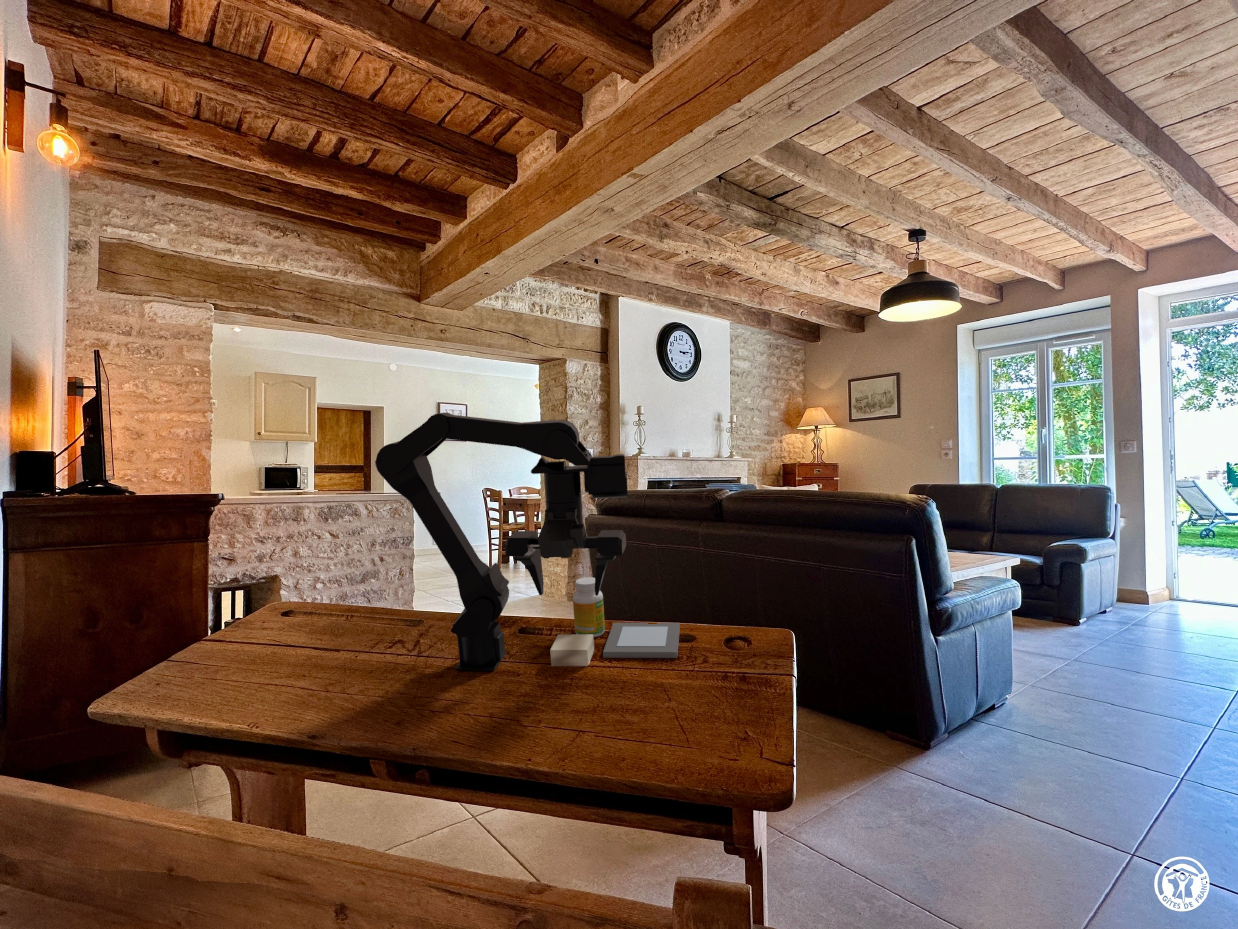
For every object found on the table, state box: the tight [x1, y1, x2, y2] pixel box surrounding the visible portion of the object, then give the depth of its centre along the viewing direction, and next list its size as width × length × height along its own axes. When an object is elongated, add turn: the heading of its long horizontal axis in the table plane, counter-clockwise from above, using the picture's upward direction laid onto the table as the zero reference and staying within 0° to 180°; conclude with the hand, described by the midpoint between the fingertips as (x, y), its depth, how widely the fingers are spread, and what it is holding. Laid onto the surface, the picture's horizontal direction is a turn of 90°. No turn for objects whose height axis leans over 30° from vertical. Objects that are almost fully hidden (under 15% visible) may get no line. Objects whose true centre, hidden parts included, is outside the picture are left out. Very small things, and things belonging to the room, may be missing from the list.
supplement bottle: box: [572, 576, 606, 639], centre depth 112 cm, size 5×5×10 cm
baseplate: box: [602, 622, 681, 659], centre depth 107 cm, size 12×12×1 cm
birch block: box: [549, 633, 595, 667], centre depth 102 cm, size 6×6×3 cm
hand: (569, 594), depth 101 cm, fingers open, 9 cm apart
